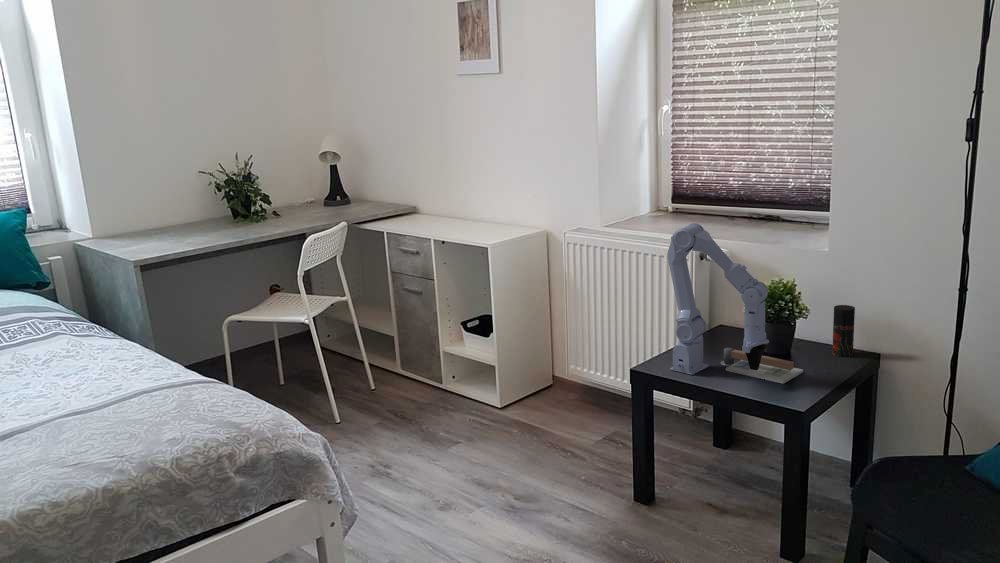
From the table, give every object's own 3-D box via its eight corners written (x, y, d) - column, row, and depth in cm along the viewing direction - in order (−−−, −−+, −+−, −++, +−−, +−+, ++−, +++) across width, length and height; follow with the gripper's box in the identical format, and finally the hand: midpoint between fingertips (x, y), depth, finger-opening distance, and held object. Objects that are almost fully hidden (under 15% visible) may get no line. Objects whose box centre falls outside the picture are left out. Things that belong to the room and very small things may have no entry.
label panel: (783, 383, 233) (783, 380, 233) (711, 367, 250) (711, 364, 250) (803, 372, 241) (803, 369, 241) (731, 356, 258) (731, 353, 258)
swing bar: (721, 362, 252) (721, 349, 251) (727, 359, 254) (727, 347, 253) (789, 377, 236) (789, 363, 235) (794, 374, 238) (794, 361, 237)
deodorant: (854, 357, 251) (856, 310, 247) (834, 356, 252) (835, 310, 249) (850, 350, 257) (852, 304, 253) (830, 350, 258) (832, 304, 254)
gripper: (759, 333, 228) (759, 379, 231) (776, 319, 239) (776, 363, 242) (735, 329, 232) (735, 375, 235) (752, 316, 243) (752, 360, 246)
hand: (754, 369), depth 239 cm, fingers closed
